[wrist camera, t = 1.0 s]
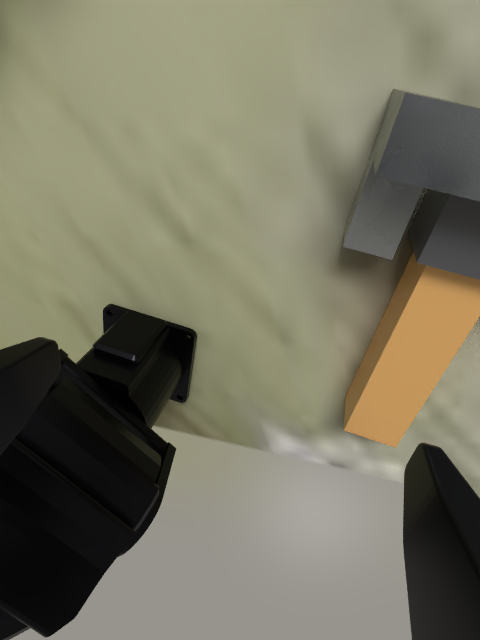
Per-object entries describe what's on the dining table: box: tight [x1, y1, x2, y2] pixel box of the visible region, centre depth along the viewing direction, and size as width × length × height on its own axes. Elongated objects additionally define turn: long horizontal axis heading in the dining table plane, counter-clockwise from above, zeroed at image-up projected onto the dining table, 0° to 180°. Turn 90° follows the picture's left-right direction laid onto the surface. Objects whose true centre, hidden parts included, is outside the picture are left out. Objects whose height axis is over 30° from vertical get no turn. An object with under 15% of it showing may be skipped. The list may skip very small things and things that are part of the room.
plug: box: [344, 189, 480, 447], centre depth 18 cm, size 16×4×4 cm, turn 170°
